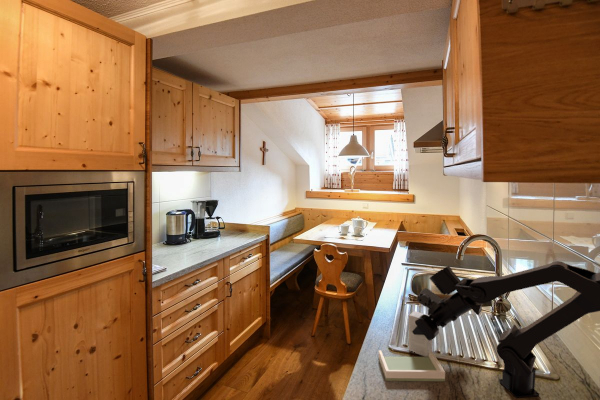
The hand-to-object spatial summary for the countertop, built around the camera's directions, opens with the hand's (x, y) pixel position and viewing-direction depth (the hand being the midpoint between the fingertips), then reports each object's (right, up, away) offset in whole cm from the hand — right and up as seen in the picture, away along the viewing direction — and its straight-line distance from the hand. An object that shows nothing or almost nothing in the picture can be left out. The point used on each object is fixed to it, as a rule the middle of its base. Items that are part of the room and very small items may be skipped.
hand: (416, 330), depth 101 cm
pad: (-5, -8, -9) cm, 13 cm away
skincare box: (+1, -7, 0) cm, 7 cm away
